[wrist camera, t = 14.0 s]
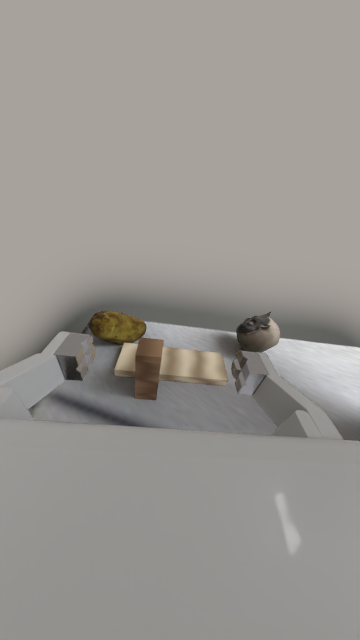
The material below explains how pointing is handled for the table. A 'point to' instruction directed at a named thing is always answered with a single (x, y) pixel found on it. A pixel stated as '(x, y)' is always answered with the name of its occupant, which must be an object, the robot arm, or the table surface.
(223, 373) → the plank
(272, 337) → the round clay pot
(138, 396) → the wooden block
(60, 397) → the table surface
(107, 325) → the potato
